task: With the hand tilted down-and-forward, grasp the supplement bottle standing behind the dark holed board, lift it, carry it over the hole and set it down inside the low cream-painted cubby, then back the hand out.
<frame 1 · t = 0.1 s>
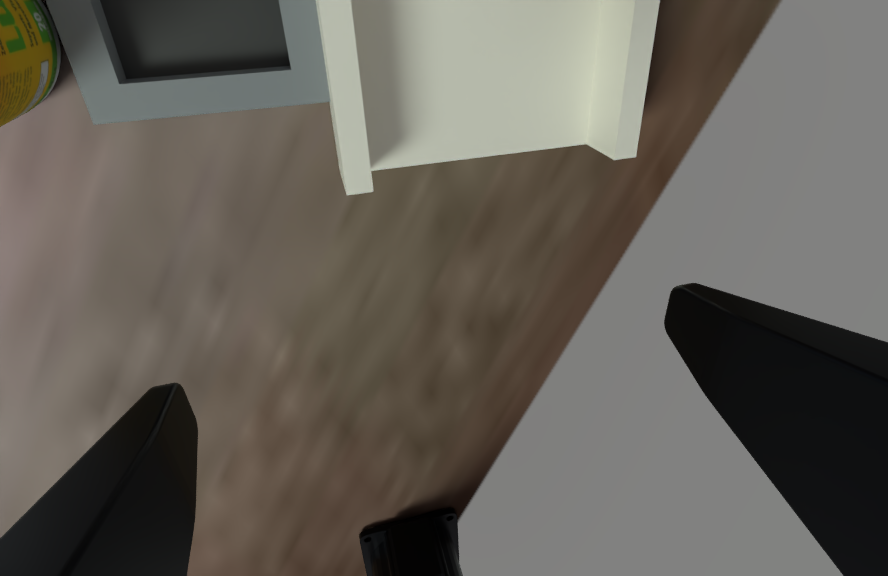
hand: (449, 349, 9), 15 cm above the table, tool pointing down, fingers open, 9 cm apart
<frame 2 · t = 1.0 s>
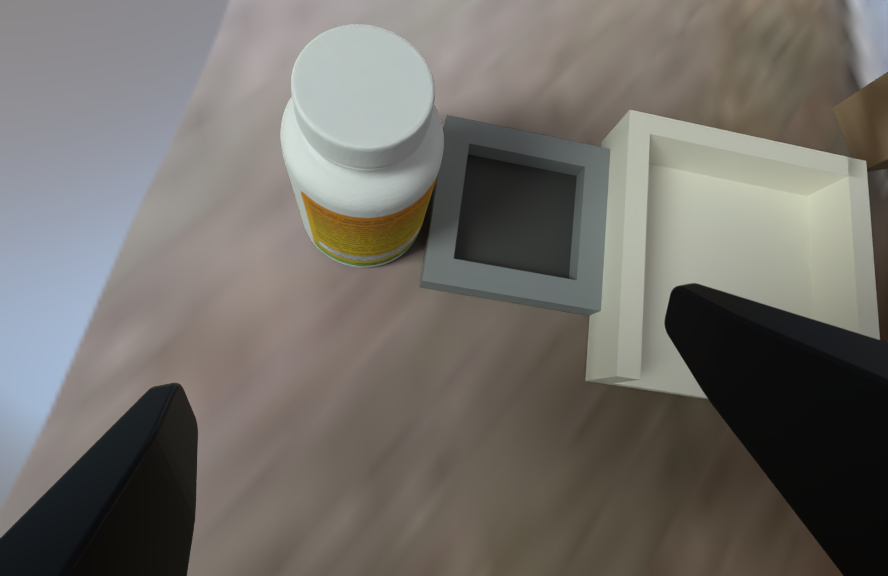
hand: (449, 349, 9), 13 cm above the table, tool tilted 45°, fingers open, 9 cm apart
holed board: (514, 220, 25), on the table
supplement bottle: (363, 214, 24), on the table
walnut block: (873, 136, 30), on the table
cubby: (709, 275, 26), on the table
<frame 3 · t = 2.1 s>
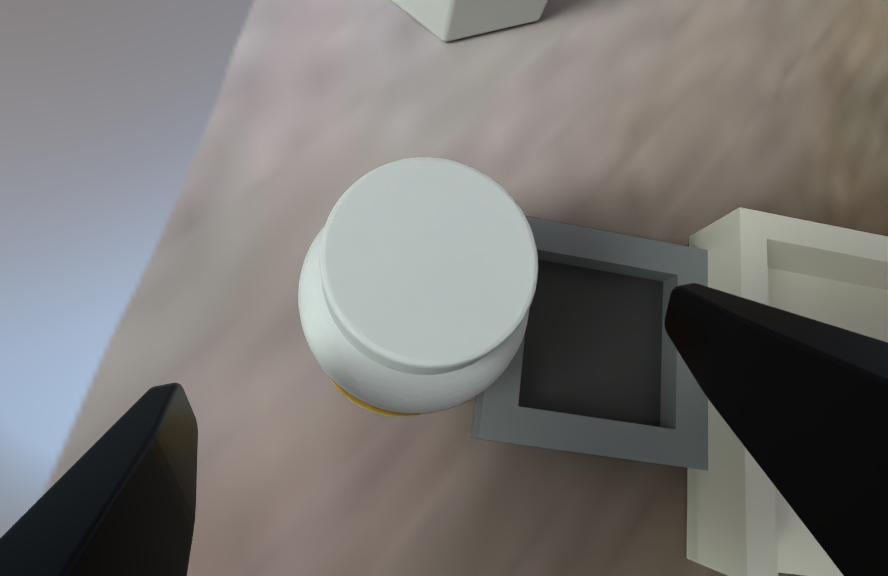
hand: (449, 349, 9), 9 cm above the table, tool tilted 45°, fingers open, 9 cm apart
holed board: (588, 341, 20), on the table
supplement bottle: (398, 340, 19), on the table
cubby: (831, 406, 20), on the table
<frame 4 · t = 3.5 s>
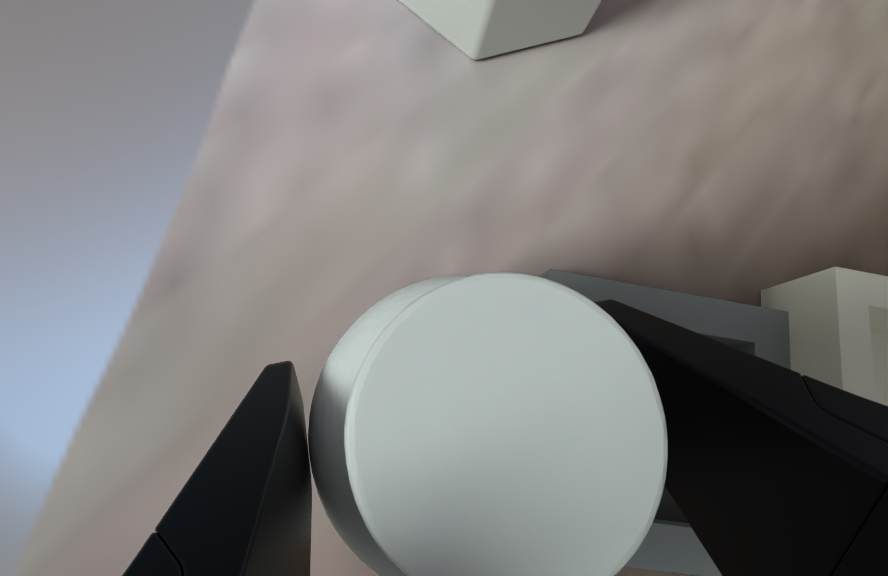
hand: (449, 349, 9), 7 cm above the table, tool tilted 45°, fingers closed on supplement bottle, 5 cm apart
holed board: (647, 421, 17), on the table
supplement bottle: (423, 423, 16), on the table, touching gripper
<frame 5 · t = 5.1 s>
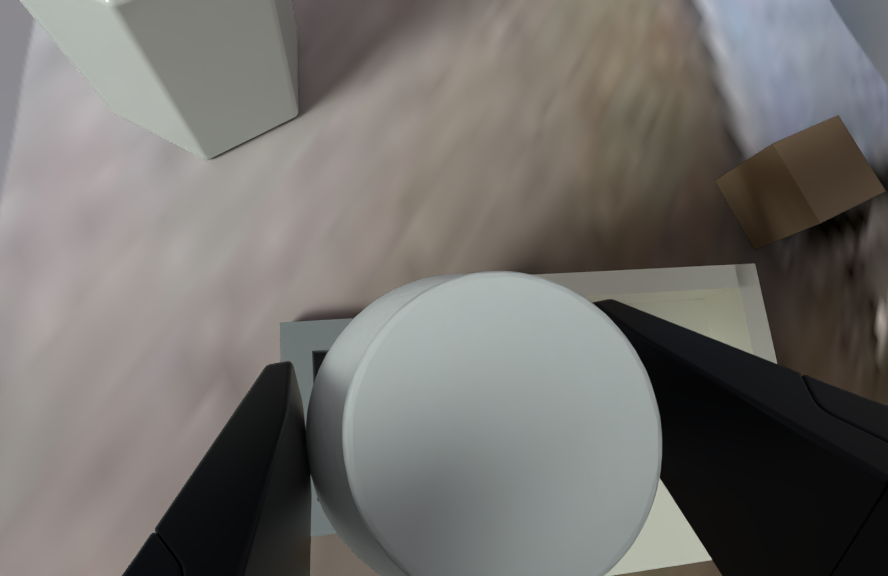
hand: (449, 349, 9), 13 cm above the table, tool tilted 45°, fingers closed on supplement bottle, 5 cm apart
holed board: (386, 416, 22), on the table
supplement bottle: (419, 422, 16), point 6 cm above the table, touching gripper
walnut block: (763, 201, 27), on the table
jar: (211, 74, 24), on the table
cubby: (614, 418, 23), on the table
when the fingers open (8 cm above the table, at t = 7.1 s): supplement bottle stays where it is, resting on cubby.
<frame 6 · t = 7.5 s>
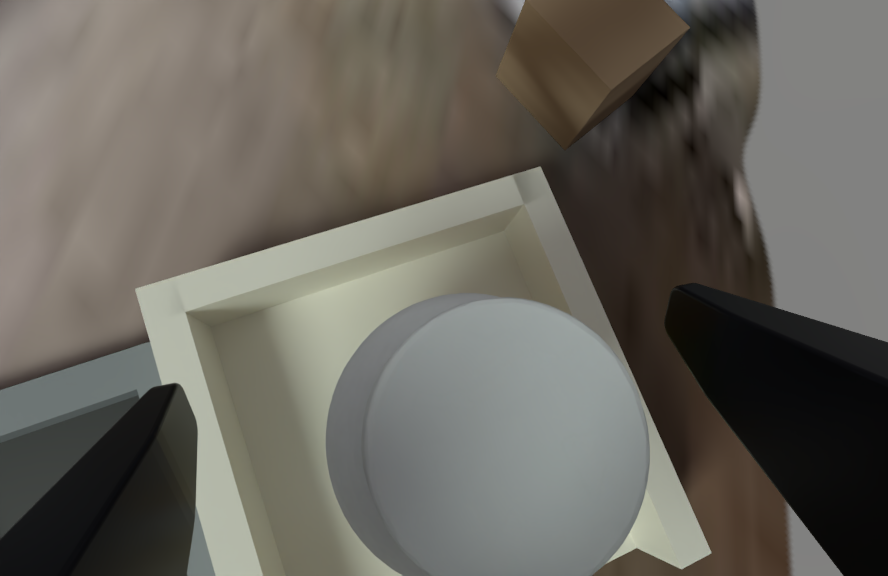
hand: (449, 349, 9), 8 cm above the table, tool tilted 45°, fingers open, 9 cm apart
holed board: (75, 521, 15), on the table
supplement bottle: (427, 427, 17), resting on cubby
walnut block: (564, 87, 21), on the table
cubby: (418, 422, 17), on the table
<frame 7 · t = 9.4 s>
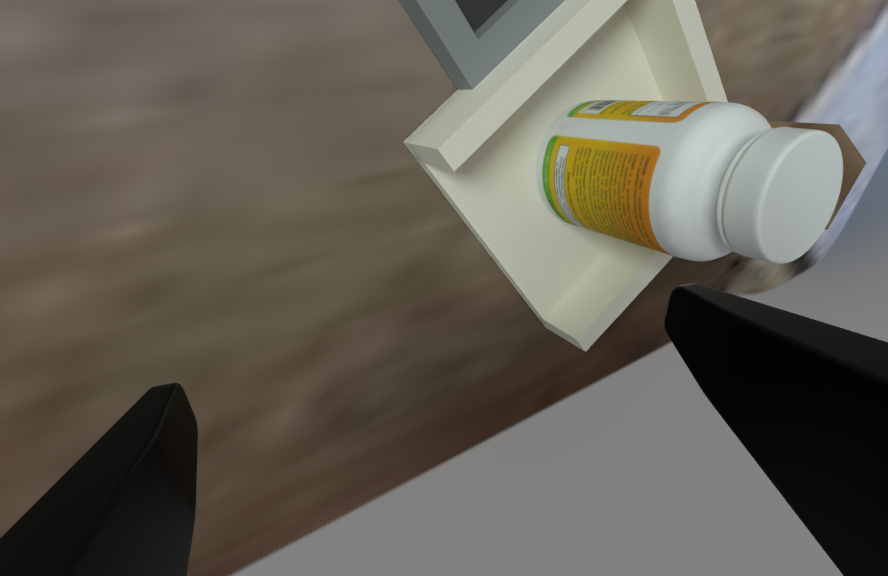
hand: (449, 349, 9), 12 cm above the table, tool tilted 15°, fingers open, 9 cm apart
supplement bottle: (578, 162, 24), resting on cubby
walnut block: (759, 169, 31), on the table
cubby: (574, 155, 24), on the table
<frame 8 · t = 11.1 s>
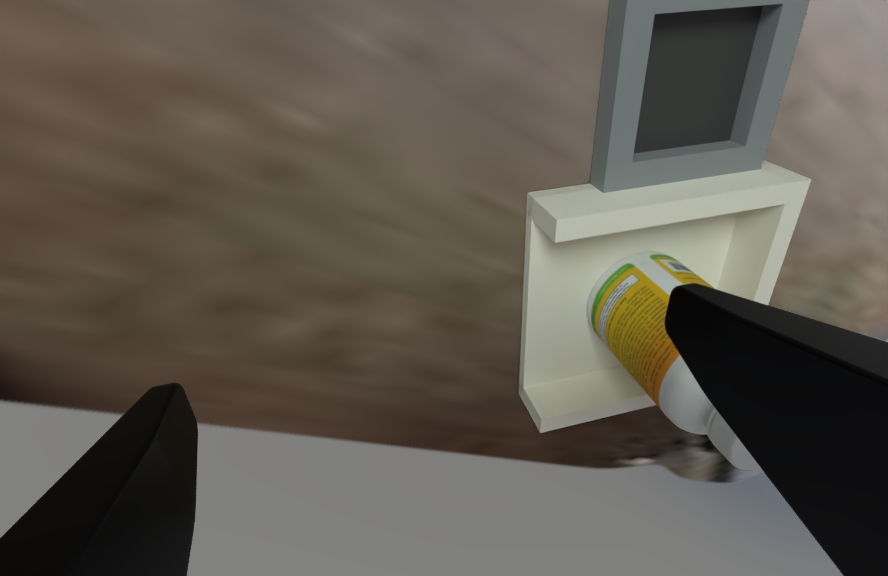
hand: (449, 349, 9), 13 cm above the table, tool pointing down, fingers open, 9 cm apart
holed board: (685, 81, 22), on the table
supplement bottle: (630, 292, 27), resting on cubby
cubby: (630, 284, 27), on the table
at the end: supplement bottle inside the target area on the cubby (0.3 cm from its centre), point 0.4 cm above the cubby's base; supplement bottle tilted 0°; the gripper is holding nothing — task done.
